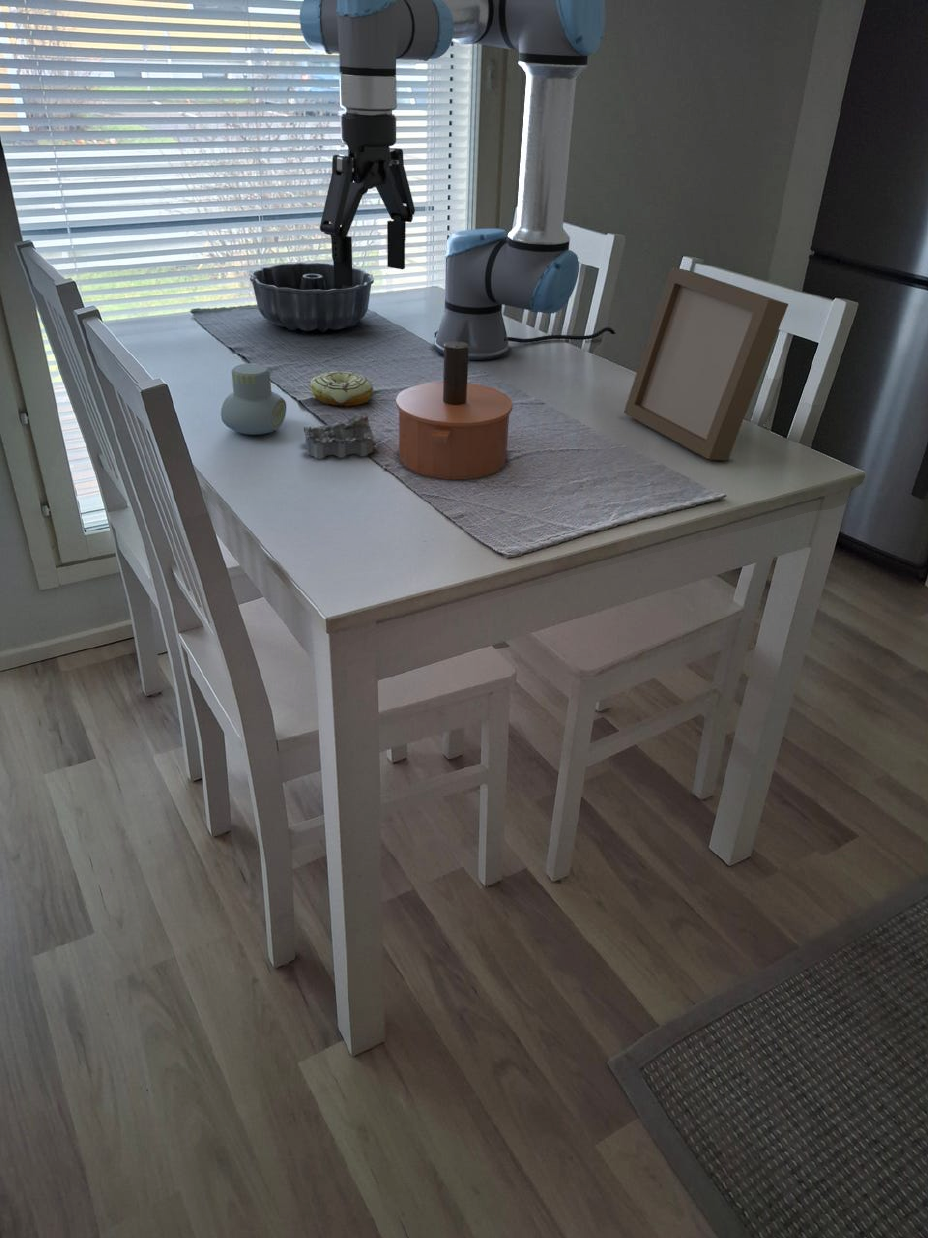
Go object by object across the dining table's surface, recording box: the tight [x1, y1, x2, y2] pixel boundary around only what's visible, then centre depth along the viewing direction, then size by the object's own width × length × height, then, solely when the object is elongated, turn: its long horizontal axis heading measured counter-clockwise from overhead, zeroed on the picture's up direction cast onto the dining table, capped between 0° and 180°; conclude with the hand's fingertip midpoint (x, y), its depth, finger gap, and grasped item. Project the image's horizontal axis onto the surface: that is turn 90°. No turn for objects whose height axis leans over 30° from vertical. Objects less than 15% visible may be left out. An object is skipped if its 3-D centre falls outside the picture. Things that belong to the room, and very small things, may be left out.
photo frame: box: [623, 266, 789, 462], centre depth 147 cm, size 15×22×25 cm
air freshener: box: [220, 362, 287, 436], centre depth 145 cm, size 11×8×10 cm
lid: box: [395, 341, 514, 427], centre depth 135 cm, size 18×18×10 cm
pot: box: [398, 409, 510, 480], centre depth 139 cm, size 17×22×8 cm
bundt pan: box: [249, 262, 375, 333], centre depth 197 cm, size 26×26×10 cm
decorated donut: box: [310, 370, 374, 407], centre depth 160 cm, size 10×11×4 cm
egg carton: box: [303, 415, 375, 460], centre depth 141 cm, size 11×8×4 cm
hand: (370, 275), depth 134 cm, fingers open, 13 cm apart
